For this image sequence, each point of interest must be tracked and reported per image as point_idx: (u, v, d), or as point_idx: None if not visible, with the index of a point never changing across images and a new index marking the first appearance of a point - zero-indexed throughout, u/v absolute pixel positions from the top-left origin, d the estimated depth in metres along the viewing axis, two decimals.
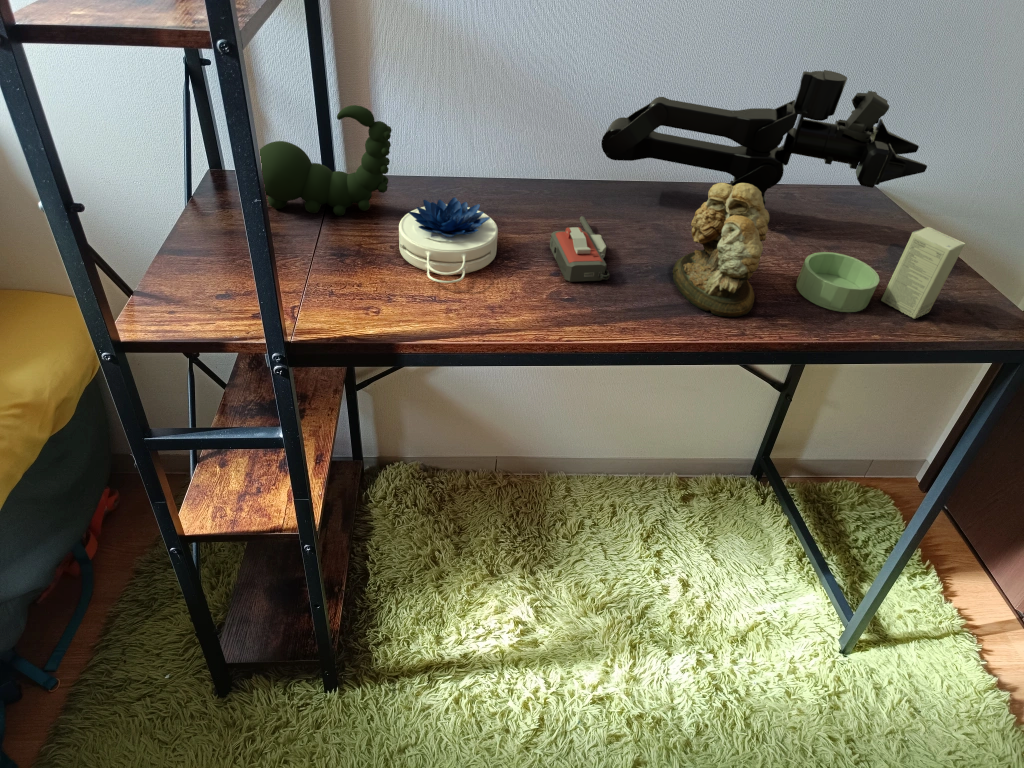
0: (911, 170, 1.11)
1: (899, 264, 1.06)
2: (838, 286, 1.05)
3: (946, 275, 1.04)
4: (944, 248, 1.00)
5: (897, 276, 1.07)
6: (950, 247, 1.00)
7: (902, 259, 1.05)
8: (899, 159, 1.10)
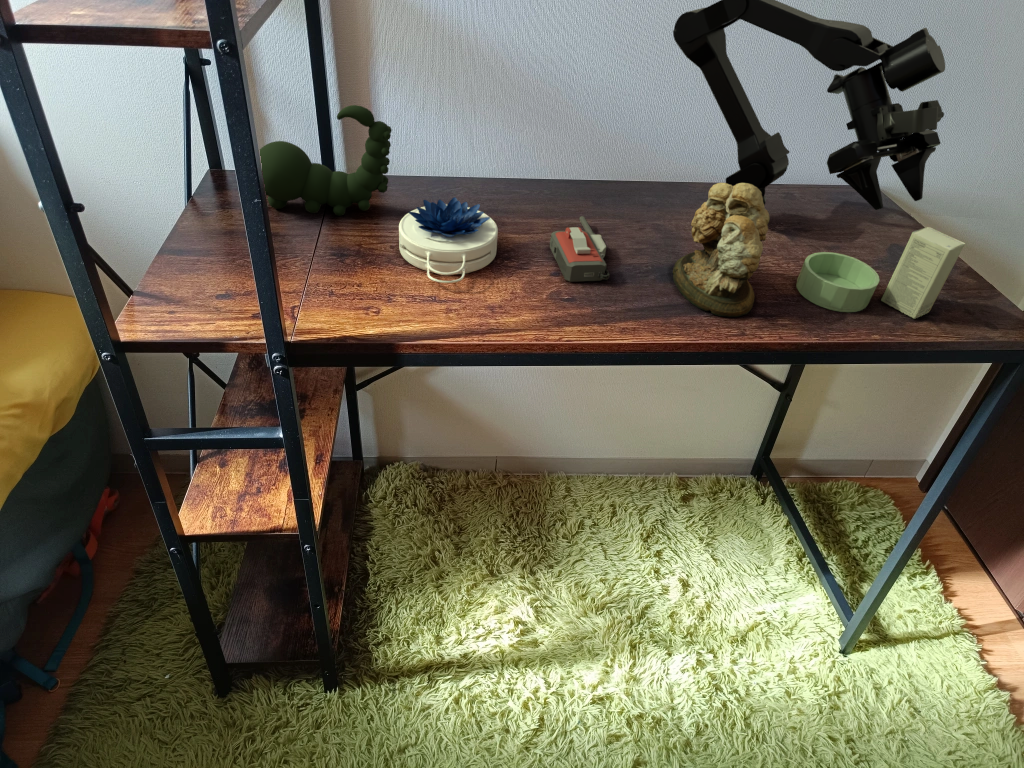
0: (869, 197, 1.05)
1: (899, 264, 1.06)
2: (838, 286, 1.05)
3: (946, 275, 1.04)
4: (944, 248, 1.00)
5: (897, 276, 1.07)
6: (950, 247, 1.00)
7: (902, 259, 1.05)
8: (869, 177, 1.03)
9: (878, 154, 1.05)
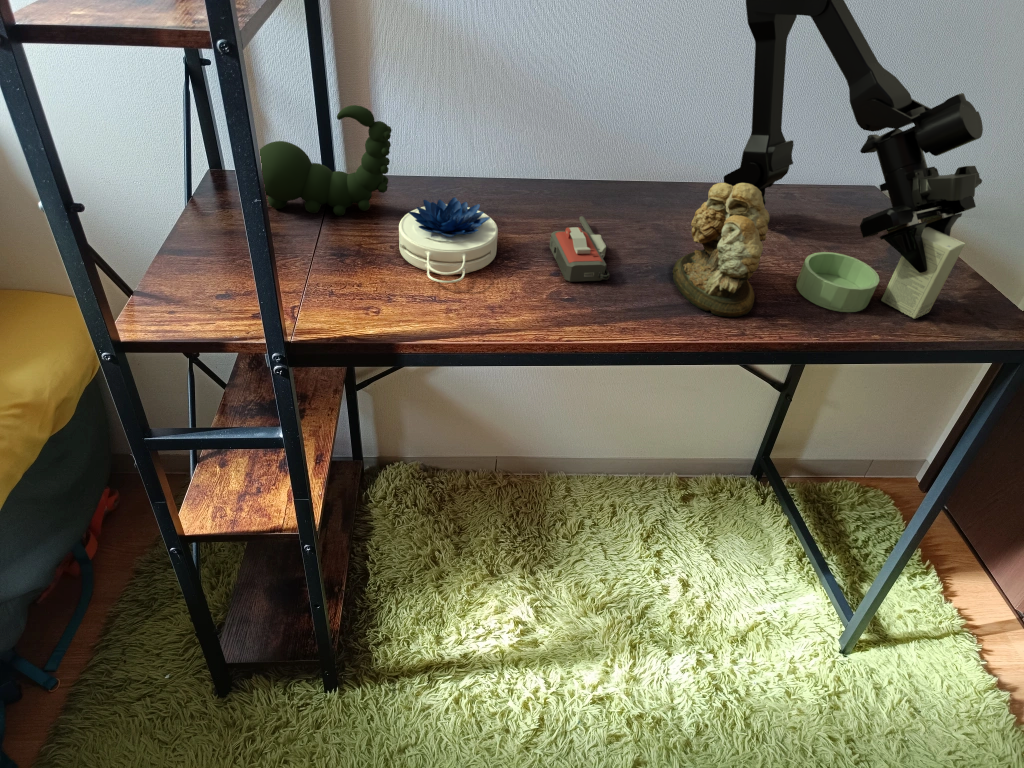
0: (913, 260, 1.03)
1: (899, 264, 1.06)
2: (838, 286, 1.05)
3: (946, 275, 1.04)
4: (944, 248, 1.00)
5: (897, 276, 1.07)
6: (950, 247, 1.00)
7: (902, 259, 1.05)
8: (914, 240, 1.01)
9: None
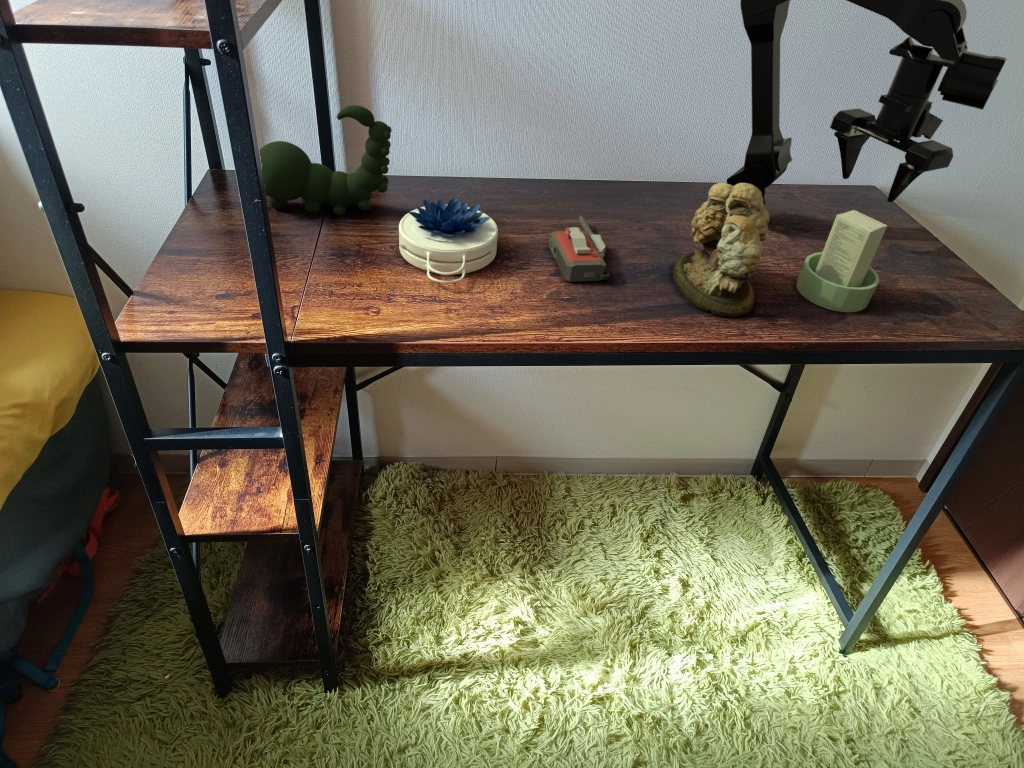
0: (898, 191, 1.09)
1: (826, 247, 1.08)
2: (838, 286, 1.05)
3: (870, 257, 1.05)
4: (865, 230, 1.01)
5: (824, 258, 1.08)
6: (871, 229, 1.01)
7: (828, 242, 1.07)
8: (917, 176, 1.07)
9: None
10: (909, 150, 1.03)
